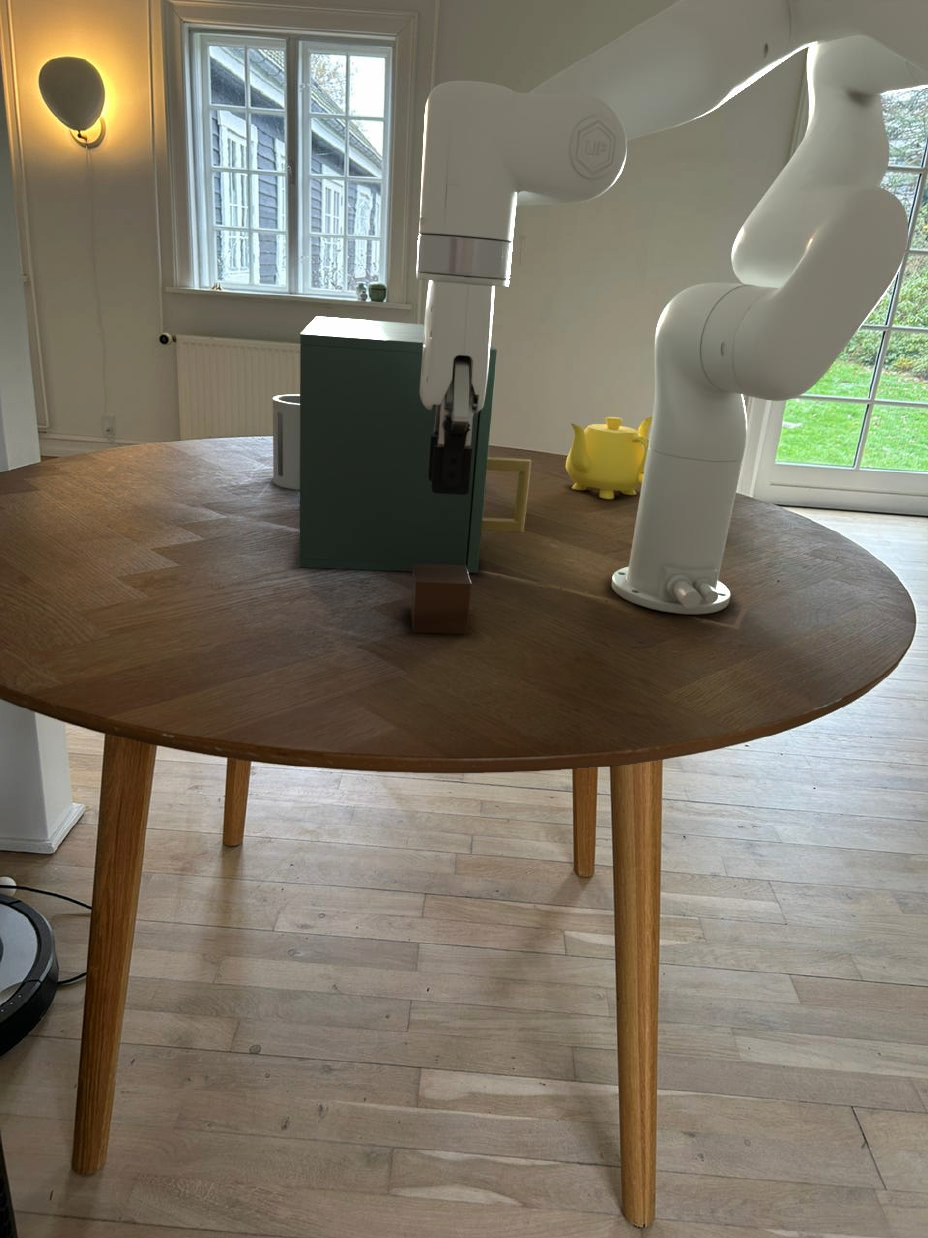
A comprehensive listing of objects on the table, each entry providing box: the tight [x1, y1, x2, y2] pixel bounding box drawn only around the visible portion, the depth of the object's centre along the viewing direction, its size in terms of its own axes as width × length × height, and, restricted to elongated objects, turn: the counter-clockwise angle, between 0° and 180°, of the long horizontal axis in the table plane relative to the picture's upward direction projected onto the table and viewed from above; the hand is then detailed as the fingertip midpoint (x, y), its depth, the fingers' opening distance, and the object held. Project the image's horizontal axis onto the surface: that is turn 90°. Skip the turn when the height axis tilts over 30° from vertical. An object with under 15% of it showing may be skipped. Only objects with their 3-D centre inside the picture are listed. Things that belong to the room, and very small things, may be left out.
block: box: [410, 563, 472, 635], centre depth 80 cm, size 5×5×5 cm
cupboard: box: [299, 316, 479, 573], centre depth 100 cm, size 18×26×24 cm
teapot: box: [565, 416, 653, 500], centre depth 132 cm, size 20×15×12 cm
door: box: [466, 345, 532, 574], centre depth 102 cm, size 6×26×24 cm, turn 6°
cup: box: [272, 394, 300, 491], centre depth 123 cm, size 9×9×12 cm
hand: (447, 485), depth 75 cm, fingers open, 3 cm apart
